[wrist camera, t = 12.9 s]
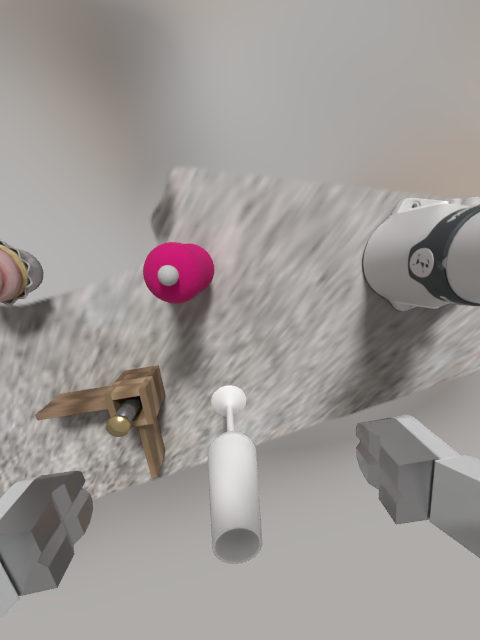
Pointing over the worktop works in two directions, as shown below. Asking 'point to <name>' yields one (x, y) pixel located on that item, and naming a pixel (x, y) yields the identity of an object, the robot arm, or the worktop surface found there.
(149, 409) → the hinge
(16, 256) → the cupcake
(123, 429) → the hinge pin
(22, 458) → the worktop surface
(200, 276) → the pepper mill
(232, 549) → the champagne flute
